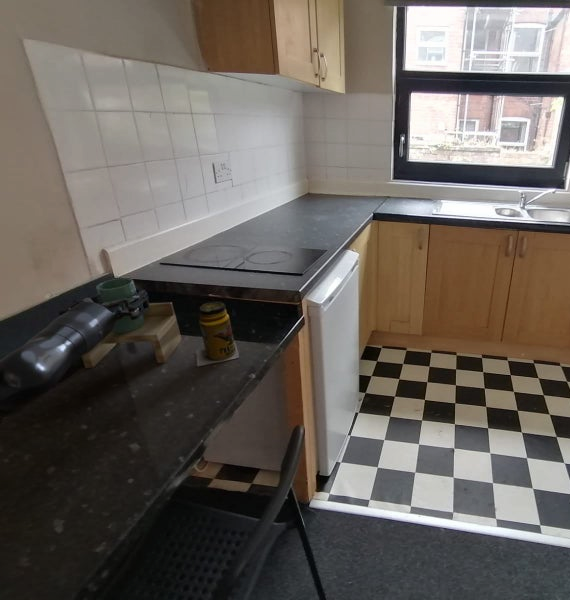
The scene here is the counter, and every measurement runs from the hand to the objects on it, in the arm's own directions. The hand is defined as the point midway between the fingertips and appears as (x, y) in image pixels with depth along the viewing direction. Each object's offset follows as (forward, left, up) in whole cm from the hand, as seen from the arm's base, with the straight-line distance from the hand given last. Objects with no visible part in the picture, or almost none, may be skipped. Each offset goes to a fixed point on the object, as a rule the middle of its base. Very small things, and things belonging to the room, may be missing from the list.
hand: (123, 294), depth 87 cm
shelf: (+1, -2, -14) cm, 14 cm away
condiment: (+19, +3, -14) cm, 24 cm away
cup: (+1, -2, -7) cm, 7 cm away
